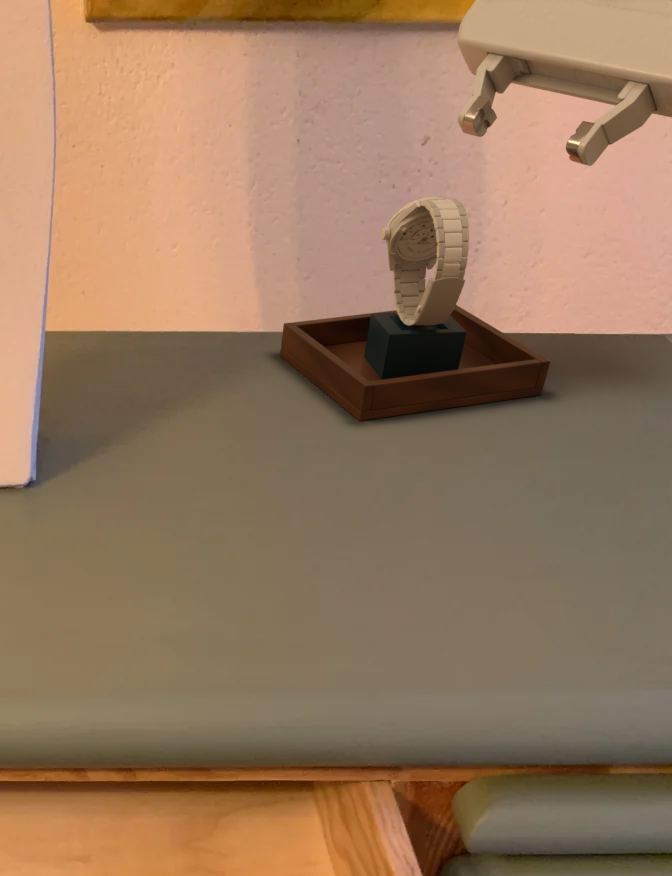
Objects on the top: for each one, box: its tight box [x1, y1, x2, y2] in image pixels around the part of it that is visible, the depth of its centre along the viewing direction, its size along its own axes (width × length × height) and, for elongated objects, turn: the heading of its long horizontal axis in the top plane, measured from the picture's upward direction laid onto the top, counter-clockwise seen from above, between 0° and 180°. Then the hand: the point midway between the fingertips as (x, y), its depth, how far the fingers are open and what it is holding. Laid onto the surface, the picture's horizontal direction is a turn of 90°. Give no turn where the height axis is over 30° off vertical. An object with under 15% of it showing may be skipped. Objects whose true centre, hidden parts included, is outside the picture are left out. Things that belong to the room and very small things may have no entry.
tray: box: [279, 304, 551, 422], centre depth 83 cm, size 14×12×2 cm
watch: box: [364, 196, 470, 379], centre depth 80 cm, size 6×8×11 cm
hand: (520, 142), depth 77 cm, fingers open, 8 cm apart
